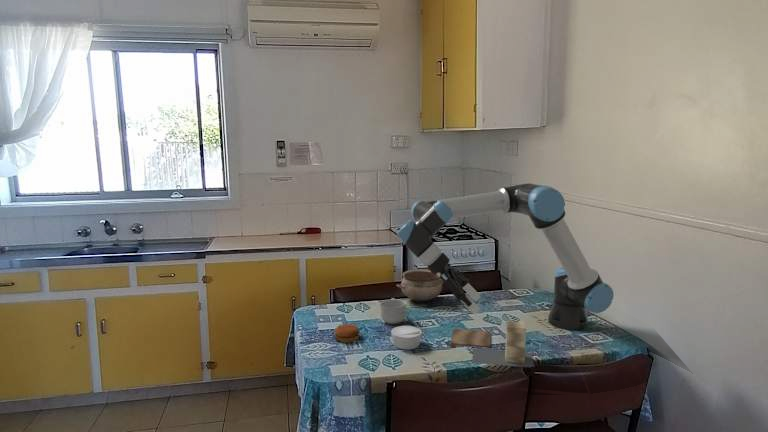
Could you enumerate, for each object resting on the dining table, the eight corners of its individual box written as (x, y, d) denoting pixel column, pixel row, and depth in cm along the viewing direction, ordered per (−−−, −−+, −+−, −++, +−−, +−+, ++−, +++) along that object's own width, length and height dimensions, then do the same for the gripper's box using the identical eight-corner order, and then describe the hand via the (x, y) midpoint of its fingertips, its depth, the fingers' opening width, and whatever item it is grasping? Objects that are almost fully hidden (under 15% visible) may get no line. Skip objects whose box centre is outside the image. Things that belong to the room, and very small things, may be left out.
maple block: (523, 355, 178) (524, 322, 176) (524, 363, 172) (525, 328, 170) (505, 354, 179) (506, 320, 177) (505, 361, 173) (507, 327, 171)
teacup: (403, 327, 207) (403, 307, 206) (377, 325, 209) (377, 306, 208) (409, 315, 220) (409, 297, 219) (384, 313, 222) (384, 295, 221)
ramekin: (412, 353, 182) (412, 339, 181) (385, 346, 188) (385, 333, 187) (427, 343, 191) (427, 329, 191) (400, 336, 197) (400, 323, 196)
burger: (349, 345, 189) (349, 333, 189) (329, 340, 194) (329, 328, 194) (364, 336, 198) (364, 324, 197) (345, 331, 203) (344, 320, 202)
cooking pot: (405, 310, 227) (405, 282, 225) (388, 297, 244) (388, 272, 242) (455, 302, 236) (455, 276, 235) (435, 291, 254) (435, 267, 252)
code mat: (531, 355, 180) (531, 353, 180) (534, 370, 169) (534, 367, 169) (472, 351, 184) (473, 348, 184) (472, 365, 173) (472, 362, 173)
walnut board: (490, 335, 198) (490, 331, 198) (490, 350, 185) (490, 346, 185) (453, 332, 201) (453, 328, 201) (450, 346, 188) (450, 342, 187)
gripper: (430, 258, 188) (470, 300, 188) (421, 276, 164) (468, 325, 164) (445, 244, 186) (486, 287, 186) (438, 260, 162) (486, 310, 162)
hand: (477, 305), depth 175 cm, fingers open, 13 cm apart
